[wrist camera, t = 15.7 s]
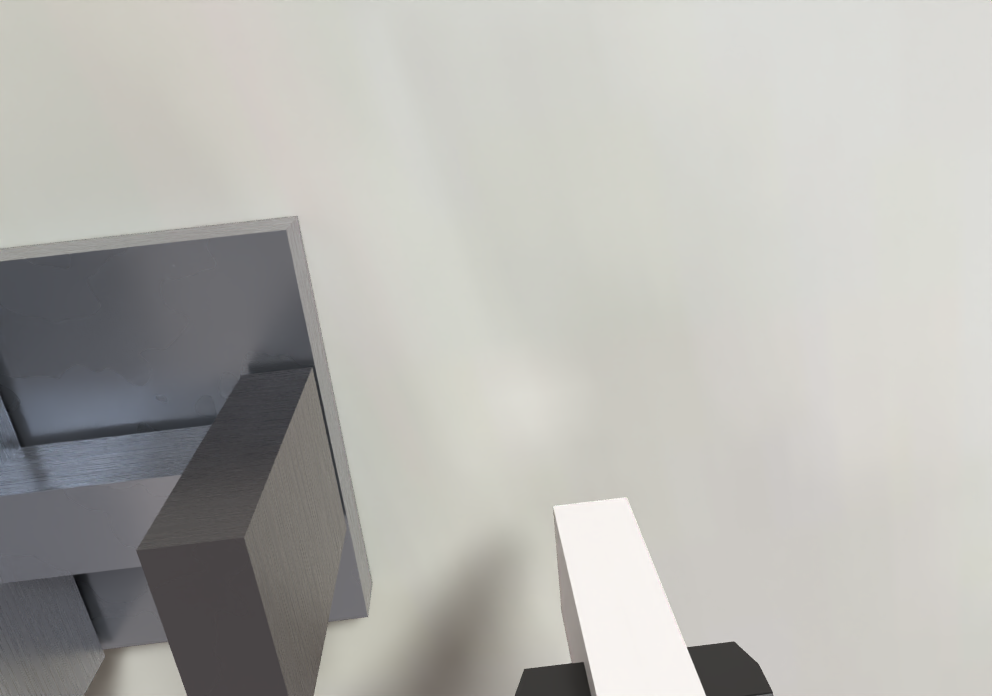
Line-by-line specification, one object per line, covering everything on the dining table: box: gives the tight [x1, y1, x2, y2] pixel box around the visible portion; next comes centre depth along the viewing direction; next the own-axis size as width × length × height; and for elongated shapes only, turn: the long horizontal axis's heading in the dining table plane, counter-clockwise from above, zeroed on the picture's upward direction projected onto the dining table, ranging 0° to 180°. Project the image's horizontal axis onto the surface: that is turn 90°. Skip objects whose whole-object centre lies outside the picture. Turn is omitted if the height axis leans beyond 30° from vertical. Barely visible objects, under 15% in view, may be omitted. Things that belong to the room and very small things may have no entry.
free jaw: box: [0, 367, 347, 696], centre depth 16 cm, size 12×11×9 cm
